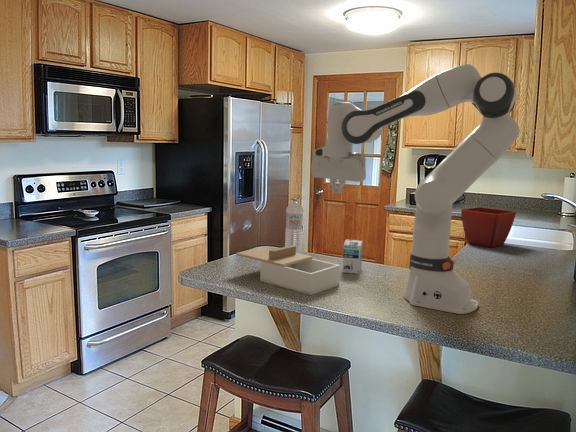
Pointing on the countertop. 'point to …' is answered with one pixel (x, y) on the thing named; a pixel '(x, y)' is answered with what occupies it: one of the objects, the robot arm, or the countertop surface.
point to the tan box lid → (275, 255)
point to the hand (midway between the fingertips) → (337, 192)
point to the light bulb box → (352, 256)
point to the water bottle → (294, 225)
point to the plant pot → (487, 225)
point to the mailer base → (302, 276)
